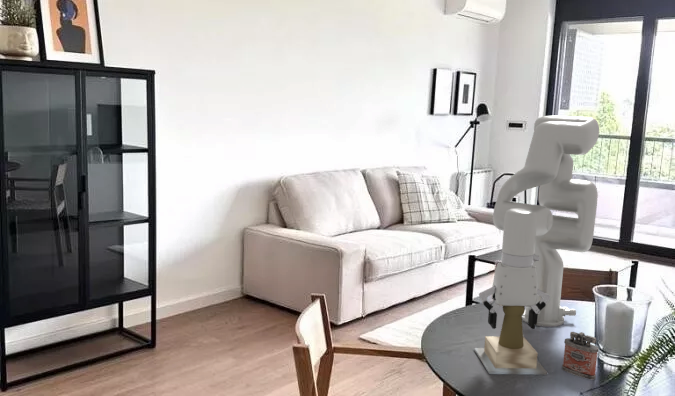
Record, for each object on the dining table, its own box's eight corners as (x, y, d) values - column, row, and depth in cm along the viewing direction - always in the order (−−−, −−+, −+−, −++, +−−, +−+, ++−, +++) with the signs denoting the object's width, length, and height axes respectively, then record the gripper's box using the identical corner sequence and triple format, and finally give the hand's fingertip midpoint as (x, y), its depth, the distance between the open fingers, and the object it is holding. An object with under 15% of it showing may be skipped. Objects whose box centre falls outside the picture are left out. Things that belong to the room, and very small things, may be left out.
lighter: (559, 369, 153) (562, 330, 152) (565, 365, 156) (569, 327, 154) (591, 381, 148) (596, 340, 146) (598, 376, 150) (602, 336, 148)
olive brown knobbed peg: (524, 350, 153) (528, 306, 151) (498, 347, 154) (502, 304, 152) (522, 340, 159) (526, 298, 157) (497, 338, 160) (501, 296, 158)
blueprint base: (527, 350, 164) (528, 334, 163) (547, 374, 150) (548, 356, 150) (474, 350, 164) (475, 333, 163) (489, 374, 150) (490, 355, 149)
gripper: (546, 256, 157) (541, 322, 159) (477, 255, 156) (473, 321, 159) (558, 264, 149) (552, 333, 152) (486, 263, 148) (481, 332, 151)
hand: (512, 327), depth 155 cm, fingers open, 9 cm apart
